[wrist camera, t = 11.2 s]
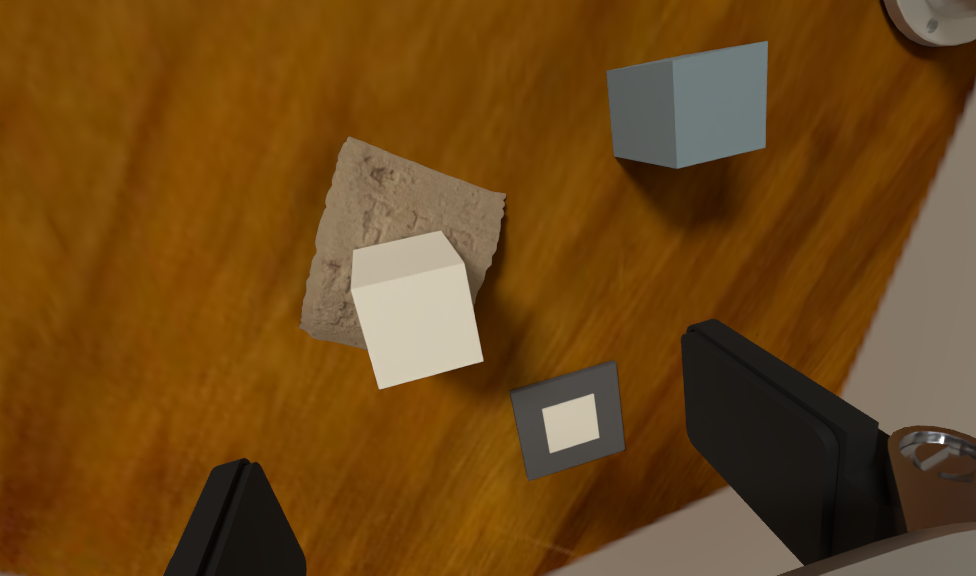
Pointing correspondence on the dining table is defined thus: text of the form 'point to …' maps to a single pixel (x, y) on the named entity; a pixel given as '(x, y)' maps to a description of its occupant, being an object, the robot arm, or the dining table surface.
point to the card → (569, 419)
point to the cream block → (414, 308)
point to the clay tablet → (390, 229)
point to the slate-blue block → (690, 106)
